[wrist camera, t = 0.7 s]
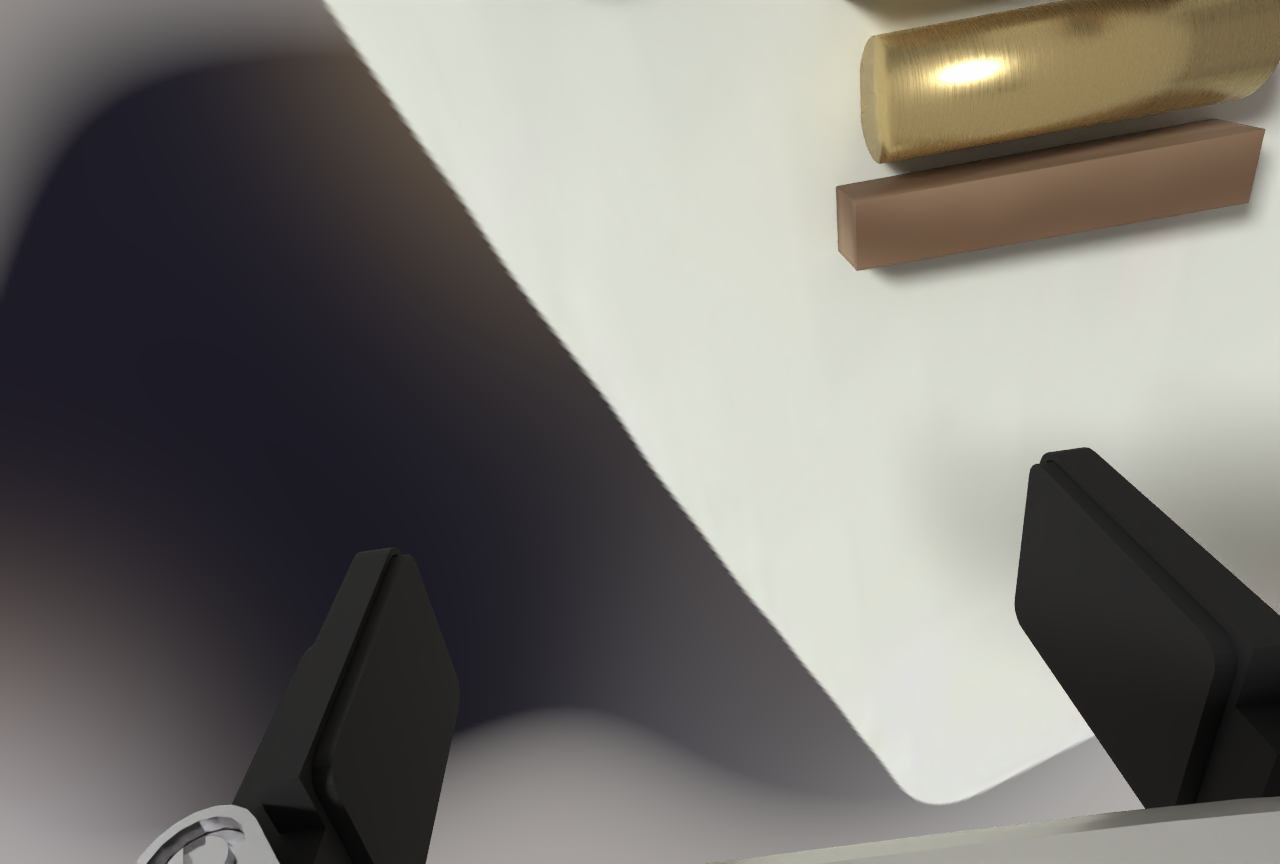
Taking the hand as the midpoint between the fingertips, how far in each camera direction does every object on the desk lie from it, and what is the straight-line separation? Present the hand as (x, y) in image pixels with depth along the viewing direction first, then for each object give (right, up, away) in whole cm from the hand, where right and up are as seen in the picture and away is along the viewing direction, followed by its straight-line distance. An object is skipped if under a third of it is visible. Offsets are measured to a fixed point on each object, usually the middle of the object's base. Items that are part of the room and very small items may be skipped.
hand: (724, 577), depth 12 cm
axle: (+13, +14, +14) cm, 24 cm away
